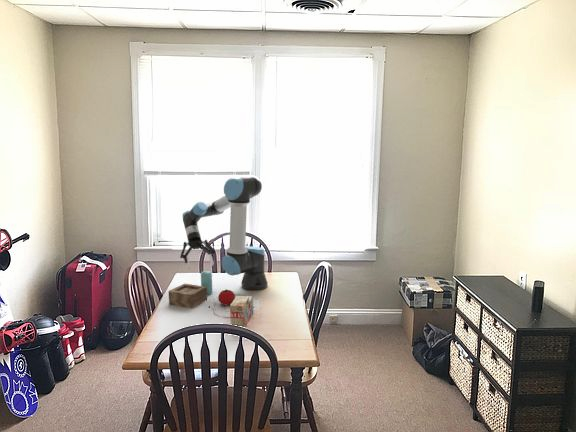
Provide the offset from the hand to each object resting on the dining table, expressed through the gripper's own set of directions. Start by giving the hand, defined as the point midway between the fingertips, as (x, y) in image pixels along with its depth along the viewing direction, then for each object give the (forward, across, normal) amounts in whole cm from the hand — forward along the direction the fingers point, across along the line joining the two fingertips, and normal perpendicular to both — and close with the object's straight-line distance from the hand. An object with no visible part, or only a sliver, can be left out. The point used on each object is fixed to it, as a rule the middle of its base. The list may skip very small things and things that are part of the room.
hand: (201, 266), depth 284 cm
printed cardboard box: (+49, -4, +30) cm, 58 cm away
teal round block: (+16, 0, -3) cm, 16 cm away
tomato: (+31, -5, +12) cm, 33 cm away
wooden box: (+22, +12, +4) cm, 26 cm away
